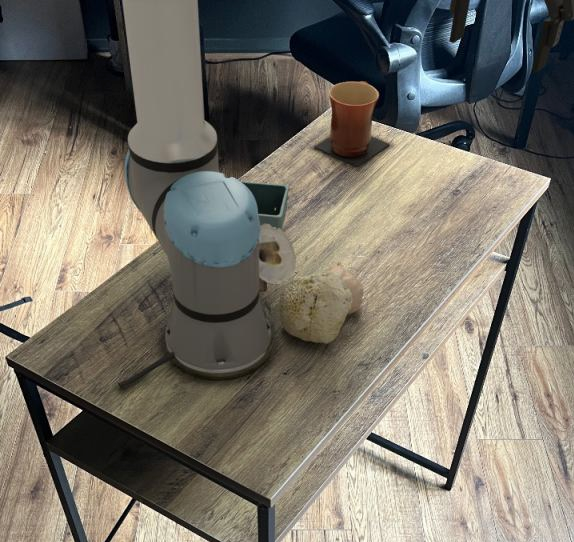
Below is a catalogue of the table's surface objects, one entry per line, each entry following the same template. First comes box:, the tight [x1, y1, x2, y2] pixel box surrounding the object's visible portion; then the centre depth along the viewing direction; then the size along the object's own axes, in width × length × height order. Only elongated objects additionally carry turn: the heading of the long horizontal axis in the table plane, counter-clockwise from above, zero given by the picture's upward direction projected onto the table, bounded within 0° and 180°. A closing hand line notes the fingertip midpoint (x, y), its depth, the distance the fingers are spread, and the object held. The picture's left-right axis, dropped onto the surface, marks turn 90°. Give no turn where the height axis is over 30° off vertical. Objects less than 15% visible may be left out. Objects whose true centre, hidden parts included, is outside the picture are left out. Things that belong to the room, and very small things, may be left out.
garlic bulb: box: [327, 261, 364, 315], centre depth 122 cm, size 7×6×8 cm
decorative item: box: [278, 270, 352, 344], centre depth 117 cm, size 12×9×10 cm
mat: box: [313, 135, 390, 168], centre depth 152 cm, size 10×10×1 cm
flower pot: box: [239, 180, 290, 239], centre depth 129 cm, size 9×9×9 cm
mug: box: [328, 80, 380, 158], centre depth 148 cm, size 12×9×10 cm
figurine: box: [259, 208, 297, 293], centre depth 120 cm, size 11×10×15 cm
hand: (496, 53), depth 118 cm, fingers open, 13 cm apart
